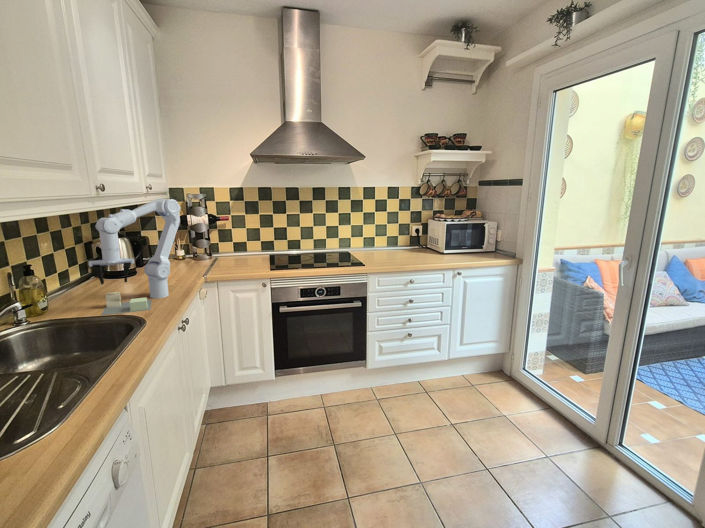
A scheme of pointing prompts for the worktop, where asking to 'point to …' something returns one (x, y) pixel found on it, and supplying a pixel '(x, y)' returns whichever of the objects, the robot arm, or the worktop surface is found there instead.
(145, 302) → the base block
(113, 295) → the cream block
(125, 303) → the build plate
